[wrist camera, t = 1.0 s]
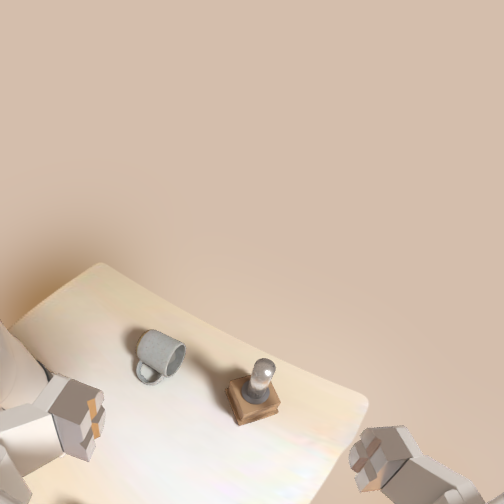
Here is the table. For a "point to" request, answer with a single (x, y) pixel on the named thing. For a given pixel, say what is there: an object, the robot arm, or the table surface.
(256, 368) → the brushed metal cylinder
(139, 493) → the table surface
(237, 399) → the walnut stand
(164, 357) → the ceramic mug
